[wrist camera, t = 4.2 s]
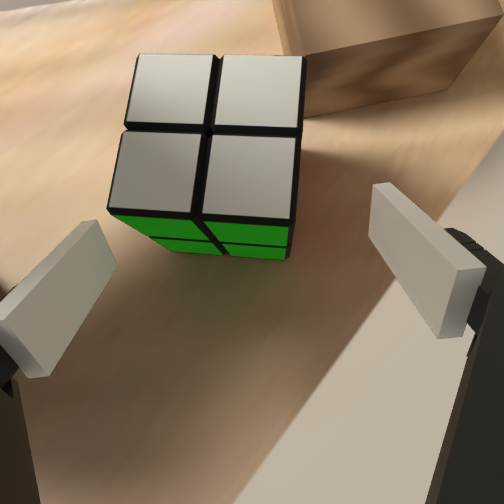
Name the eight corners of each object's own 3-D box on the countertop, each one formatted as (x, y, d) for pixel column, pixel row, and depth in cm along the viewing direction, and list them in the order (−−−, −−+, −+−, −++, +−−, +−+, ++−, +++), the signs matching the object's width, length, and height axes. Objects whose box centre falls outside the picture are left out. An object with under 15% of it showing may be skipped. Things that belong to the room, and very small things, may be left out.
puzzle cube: (297, 148, 26) (308, 50, 17) (289, 261, 24) (296, 226, 15) (185, 143, 27) (134, 48, 18) (169, 251, 25) (101, 213, 16)
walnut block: (298, 120, 27) (304, 55, 20) (272, 5, 30) (271, -86, 23) (445, 92, 26) (504, 14, 20) (405, -23, 29) (444, -126, 22)
